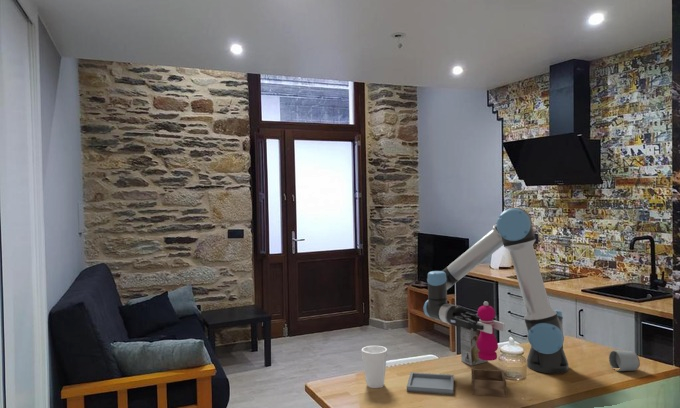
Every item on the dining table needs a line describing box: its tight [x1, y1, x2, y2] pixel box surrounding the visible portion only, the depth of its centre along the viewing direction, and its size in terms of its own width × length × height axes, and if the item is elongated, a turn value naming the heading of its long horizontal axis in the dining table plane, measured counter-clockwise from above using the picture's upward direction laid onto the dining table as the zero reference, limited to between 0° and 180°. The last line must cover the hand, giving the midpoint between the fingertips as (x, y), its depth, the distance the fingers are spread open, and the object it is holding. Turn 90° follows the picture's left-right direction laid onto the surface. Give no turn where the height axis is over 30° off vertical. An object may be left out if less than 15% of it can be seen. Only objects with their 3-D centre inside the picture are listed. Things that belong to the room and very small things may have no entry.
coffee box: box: [459, 327, 489, 366], centre depth 194 cm, size 9×6×16 cm
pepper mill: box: [476, 300, 499, 362], centre depth 166 cm, size 7×7×20 cm
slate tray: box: [406, 372, 455, 396], centre depth 171 cm, size 16×14×2 cm
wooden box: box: [471, 368, 507, 398], centre depth 166 cm, size 11×11×5 cm
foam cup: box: [361, 345, 388, 389], centre depth 173 cm, size 10×9×13 cm
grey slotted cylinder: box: [608, 349, 641, 372], centre depth 182 cm, size 11×8×8 cm
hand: (497, 328), depth 161 cm, fingers closed on pepper mill, 5 cm apart
